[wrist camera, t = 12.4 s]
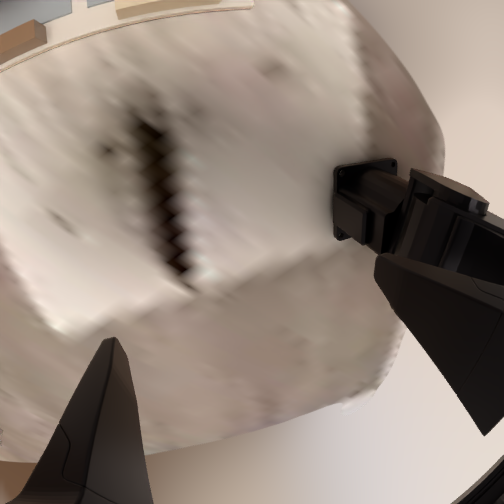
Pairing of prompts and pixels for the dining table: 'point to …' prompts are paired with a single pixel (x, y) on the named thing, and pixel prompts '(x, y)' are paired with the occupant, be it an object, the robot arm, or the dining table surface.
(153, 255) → the dining table surface
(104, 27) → the board
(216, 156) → the dining table surface
